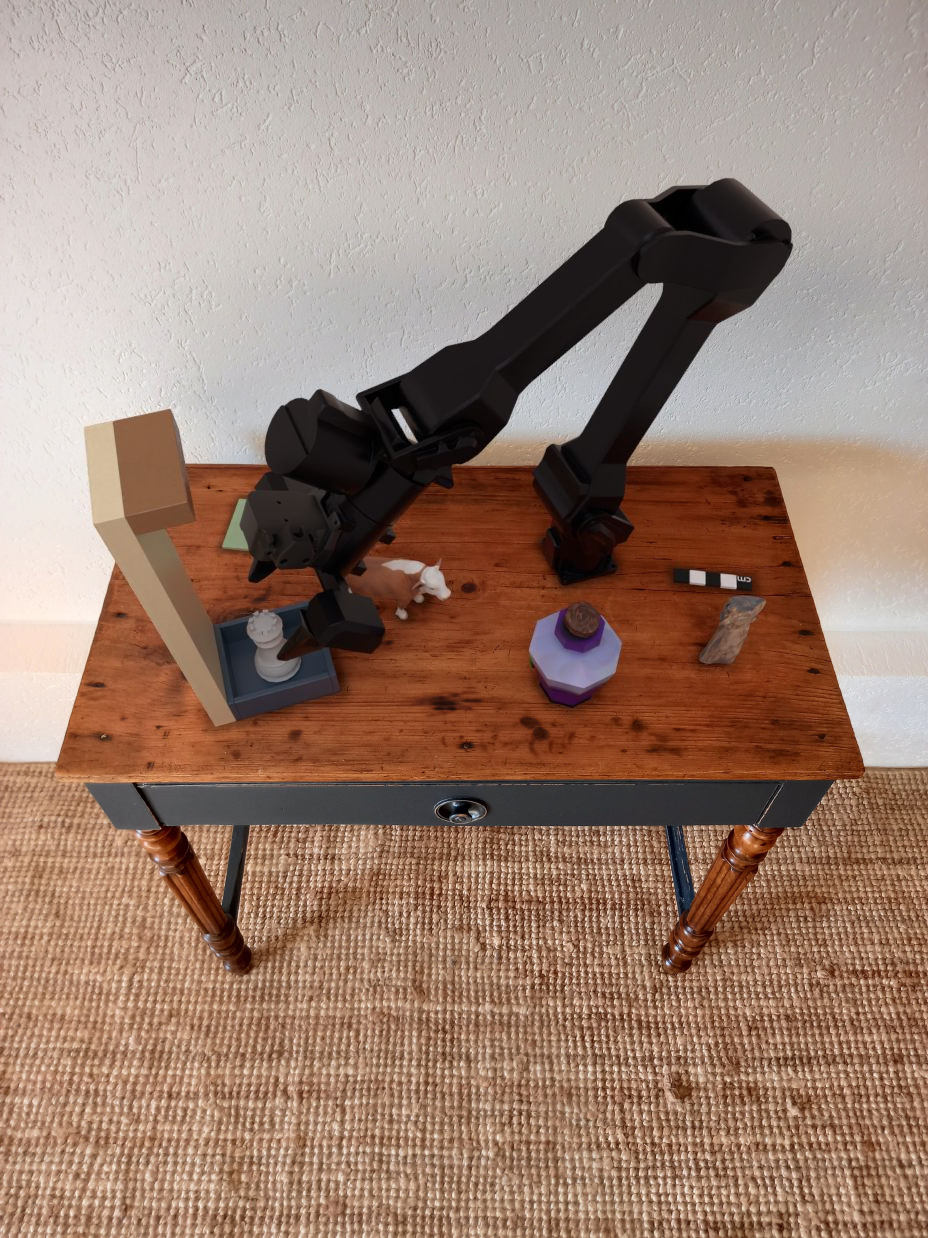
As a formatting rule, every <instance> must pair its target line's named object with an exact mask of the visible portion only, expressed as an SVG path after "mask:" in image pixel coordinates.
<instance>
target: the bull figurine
mask: <svg viewBox="0 0 928 1238" xmlns="http://www.w3.org/2000/svg"><path fill="white" fill-rule="evenodd" d="M363 561H364V563H365V565H366V567H367V570H366V571H365V572H364V573H363V574H362V576H361V577H360V576H356V575H352V574H348V575H347V576H346V577H345V578H346V580H347V582H348V584H349V587H350V589H351V591H352V593H353V594H358V595H362V596H367V597H371V598H372V600H373V602H379V601H385V600H395V601H396V606H397V609H396V611H395V613H394V615H395V616H398V618H399V619H400V620H403V621H404V620H407V619H408V617H409V614H408V612H407V610H405V609H406V608H407V607H408V604H410V602H411V601H412V600H413V601H414V602H415V603H417V604H421V603H424V601H425V597H424V595H423V594H426V593H427V594H429V595H433V596H435V597H436V598H437V599H438V600H440V601H442V602H443V601H445V600H447V599H448V598H450V597H451V595H452V591H451V590H450V589H449V588H448V587H447V584H446V581H445V576H444V574H443V572H442V571H441V570H440V568H441V565H442V561H443V558H442V557H440V558H439V560H438V561H437V562H436V563H435V565H434V566H428V564H426V563H424V562H421V561H418V560H411V559H407V558H404V557H403V558H402V557H387V556H372V555H371V556H370V555H369V556H368V555H366V556H365V558H364V559H363Z"/></svg>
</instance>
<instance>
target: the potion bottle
mask: <svg viewBox="0 0 928 1238" xmlns="http://www.w3.org/2000/svg"><path fill="white" fill-rule="evenodd" d="M622 646H623V642H622V640H621V639H620V637H619V636H618V635H617V634H616V632H615V631H614V630H613V627H611V625H610V624H609V623H608V621H607V619H605V617H604V616H603V615H602V614H600V612H599V610H598V609H597V608H596V607H595V606H594V605H593V604H592V603H590V602H587V601H583V600H581V601H575V602H573V603H570V604H569V605H568V606H567V607H565V608H562V609H561V610H559V611H556V612H555V613H551V614H550V615H547V616H546V617H543V618H542V619H539V620H537V621H536V625H535V627H534V632H533V635H532V639H531V641H530V645H529V647H528V653H529V654H528V655H529V657H528V661H529V662H528V663H529V666H530V668H531V669H535V670H536V672H537V675H538V678H539V683H538V686H539V687H540V689H541V691H542V692H543V694H544V695H545V696H546V698H547V699H548V702H549V703H551V704H555V705H559V706H563V707H566V708H570V709H574V708H575V707H577V706H580V705H582V704H583V703H586V702H587V701H590V700H591V699H592V698H593V694H594V693H595V692H596V691H597V690H598V689H599V688H600V687H602V686H604V685H605V684H607V683H608V681H609V680H610V679H611V678H612V677H613V676H614V675H615V673H616V671H617V667H618V666H617V665H618V663H619V658H620V654H621V653H620V652H621V650H622Z"/></svg>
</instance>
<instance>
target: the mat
mask: <svg viewBox="0 0 928 1238" xmlns="http://www.w3.org/2000/svg"><path fill="white" fill-rule="evenodd" d="M246 499H247V498H238V501H237V504H236V507H235V508H234V512H233V515H232V518H231V520H230V523H229V526H228V527H227V528H228V529H227V531H226V534H225V537H224V539H223V543H222V545H221V548H222V549H223V550H232V551H241V552H243V551H244V552H249V550H248V544H247V541H246V539H245V536H244V533H243V531H241V529H240V525H239V524H240V520H241V517H242V513H243V510H244V506H245V503H246Z"/></svg>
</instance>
